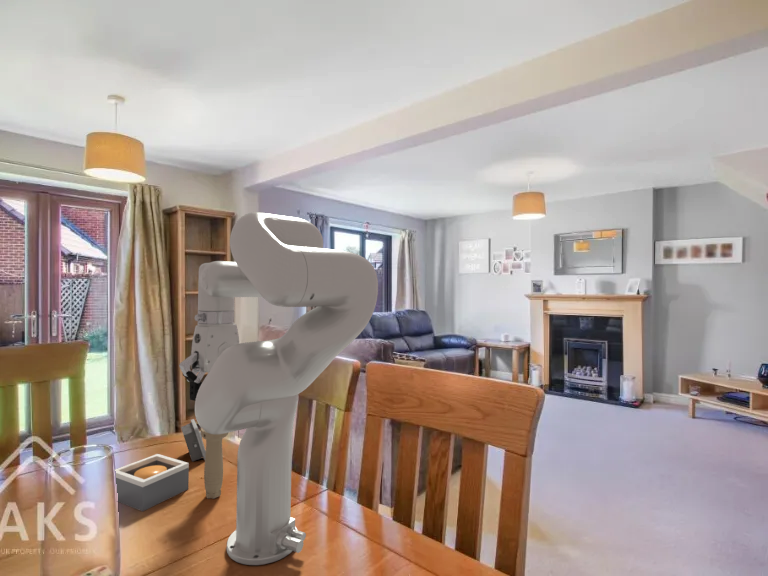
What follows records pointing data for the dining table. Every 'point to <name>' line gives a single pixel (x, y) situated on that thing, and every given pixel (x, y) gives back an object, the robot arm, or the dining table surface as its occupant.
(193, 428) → the electrical switch
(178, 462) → the box
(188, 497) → the dining table surface
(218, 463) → the handle
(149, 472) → the button
